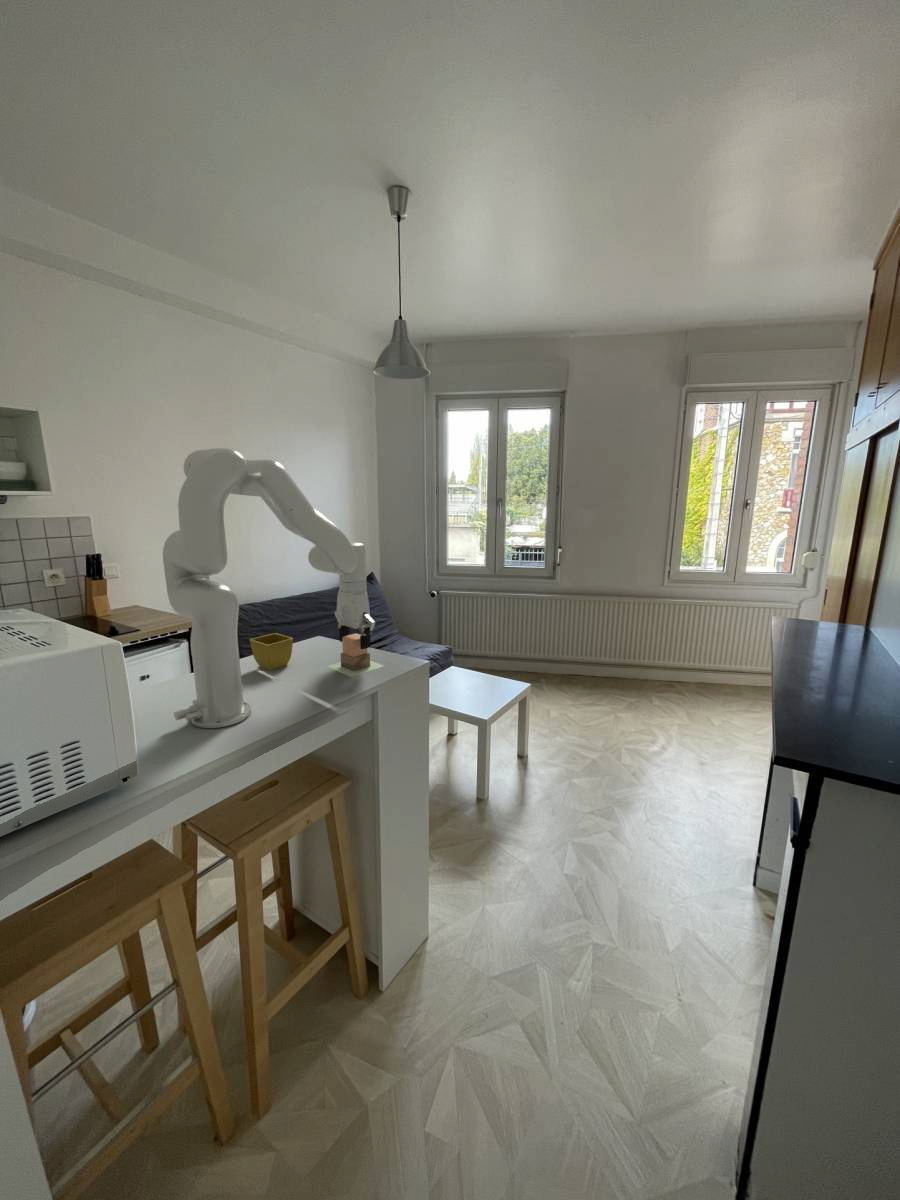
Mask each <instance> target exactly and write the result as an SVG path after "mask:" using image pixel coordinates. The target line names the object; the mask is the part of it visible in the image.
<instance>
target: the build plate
mask: <svg viewBox="0 0 900 1200" xmlns="http://www.w3.org/2000/svg"><path fill="white" fill-rule="evenodd" d="M326 667H327V668H329V669H332V670H334V671H336V672H338V673H341V674H343V675H345V676H348V677H350V678H353V677H357V676H359V675H362V674H363V675H364V674H365V673H369V672H372V671H374V670H377V669H380V668H384V667H385V665H384V664H380V663H378V662H375V661H372V660H370V666H369V667H366V668H363V669H360V670H357V671H351V670H349V669H346V668H344V667H342V666H341V661H339V662H337V663H333V664H330V665H326Z"/></svg>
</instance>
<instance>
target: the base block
mask: <svg viewBox="0 0 900 1200" xmlns="http://www.w3.org/2000/svg"><path fill="white" fill-rule="evenodd" d="M370 661H371V654H370V652H368V651H367V653H366V654H363V655H360V656H356V657H351V656H349V655H346V654H343V652H341V653H340V662H341V666H342V667H344V668H346V669H349V670H351V671H357V670H360V669H363V668H366V667H369V666H370Z"/></svg>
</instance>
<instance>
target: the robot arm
mask: <svg viewBox="0 0 900 1200" xmlns="http://www.w3.org/2000/svg"><path fill="white" fill-rule="evenodd" d="M183 472H184V475H185V477H186V478H185V480H184V481H183V483H182V486H181V488H180V491H179V495H178V501H177V503H178V504H177V508H178V509H177V510H178V511H177V513H178V523H179V524H178V525H179V529H178V530H175V531H173V532H172V533H171V534H169V536H168V537H167V538H166V540H165V542H164V544H163V547H162V562H163V563H162V564H163V570H164V577H165V584H166V585H165V586H166V591H167V597H168V601H169V604H170V606H171V608H172V609H173V610H174V611H175V612H176V613H177V614H178V615H180V616H182V617H184V618H187V619H189V620H191V624H192V626H191V632H190V652H191V653H190V655H191V658H192V660H191V661H192V666H193V667H192V668H193V675H194V676H193V678H194V685H195V686H194V687H195V695H196V699H194V700H192V702H191V703H192V705H189V706H188V708H185V709H179V710H176V711H174V712H173V717H174V719H175V721H180V720H182V719H184V720H185V721H186V722H189V721H191V723H192V725H193V726H195V727H197V728H200V729H201V728H203V729H218V728H224V727H229V726H232V725H236V724H238V723H240V722H242V721H245V720H246V719H247V718H249V717H250V715H251V713H252V706H251V704H250V703H248V702H246V701H244V696H243V695H244V694H243V686H242V685H243V683H242V682H243V681H242V672H241V662H240V661H241V660H240V650H239V642H238V641H239V639H238V638H239V637H238V623H239V611H240V603H239V600H238V597H237V595H236V593H235V592H234V591H233V589H232V588H230V587H229V586H227V585H226V584H224V583H222V582H220V581H215V580H212V579H210V577H211V576H214V575H218V574H220V573H221V572H222V571H223V570H225V568H226V566H227V563H228V545H227V539H226V528H225V515H224V513H225V510H224V509H225V505H226V502H227V501H226V500H228V497H229V495H230V494H232V495H240V496H245V497H246V496H249V497H250V496H251V497H260V498H261V499H262V500H263V502H264V503H265V504H266V505H267V507H268V508H269V509H270V511H271V512H272V513H273V514H274V515H275V517H276V518H277V519H278V521H279V522H280V523H281V524H282V525H283V527H284V528H285V529H286V530H288V531H290V532H292V533H293V534H295V535H296V536H298V537H301V538H303V539H305V540H307V541H308V542H310V543H312V544H313V545H314V546H313V547H312V548H311V549H310V551H309V552H308V554H307V555H308V557H307V558H308V563H309V564H310V566H311V567H312V568H314V569H315V570H317V571H321V572H325V573H331V574H337V575H338V584H339V585H338V586H339V590H338V592H337V598H336V610H335V611H334V616H335V618H336V619H335V621H336V623H337V628H338V629H339V630H338V632H339V635H338V636H339V642H341V643H343V642H342V637H344V636H348V635H350V628H352V629H355V630H356V629H357V630H358V629H359V632H360V635H361V636H360V647H361V649H366V648H367V649H369V648H371V645H372V644H371V642H372V641H371V640H372V639H371V635H372V634H373V631H374V630H375V625H376V621H375V620H374V619H373V618H372V617H371V611H370V602H369V595H368V592H367V591H368V589H367V587H368V585H367V560H366V559H367V555H366V554H367V553H366V552H367V550H366V546H365V544H363V543H361V542H357V541H355V542H354V541H350V540H349V539H348V537H347V535H346V534H345V533H344V532H343V531H342V529H340V528H339V527H338V526H337V525H336V524H335V523H333V522H332V521H331V520H330V519H328V518H327V517H326V516H325V515H323V514H322V513H321V512H319V511H318V510H317V509H316V508H315V507H314V506H313V505H312V503H310V501H309V500H308V498H307V497H306V496H305V494H304V493H303V491H302V490H301V488H300V487H299V486H298V485H297V483H296V481H295V479H293V477H292V476H291V474H290V473H289V472H288V471H287V469H286V468H285V467H284V466H283V464H281V463H280V462H278V461H276V460H272V459H251V460H249V459H245V457H244V456H243V455H242V454H241V453H240V452H239V451H237V450H234V449H231V448H227V447H219V448H217V447H216V448H209V449H200V450H195V451H192V452H190V453H189V454H188V455H187V456H186V458H185V459H184V461H183ZM364 628H365V629H364Z"/></svg>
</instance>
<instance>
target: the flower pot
mask: <svg viewBox="0 0 900 1200" xmlns="http://www.w3.org/2000/svg"><path fill="white" fill-rule="evenodd" d="M293 642H294V638H293V637H290V636H286V635H284V634H280V633H278V632H276V633H275V632H274V633H270V634H266V635H265V634H264V635H262V636H258V637H254V638H251V639H249V643H250V648H251V651H252V655H253V656H252V657H253V658H254V660H255V662H256V663H257V665H258V667H260V668H263V669H266V670H268V671H272V670H277V669H278V668H282V667H286V666H287V665H288V664H289V662H290V661H291V658H292V657H291V656H292V653H293Z"/></svg>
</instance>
